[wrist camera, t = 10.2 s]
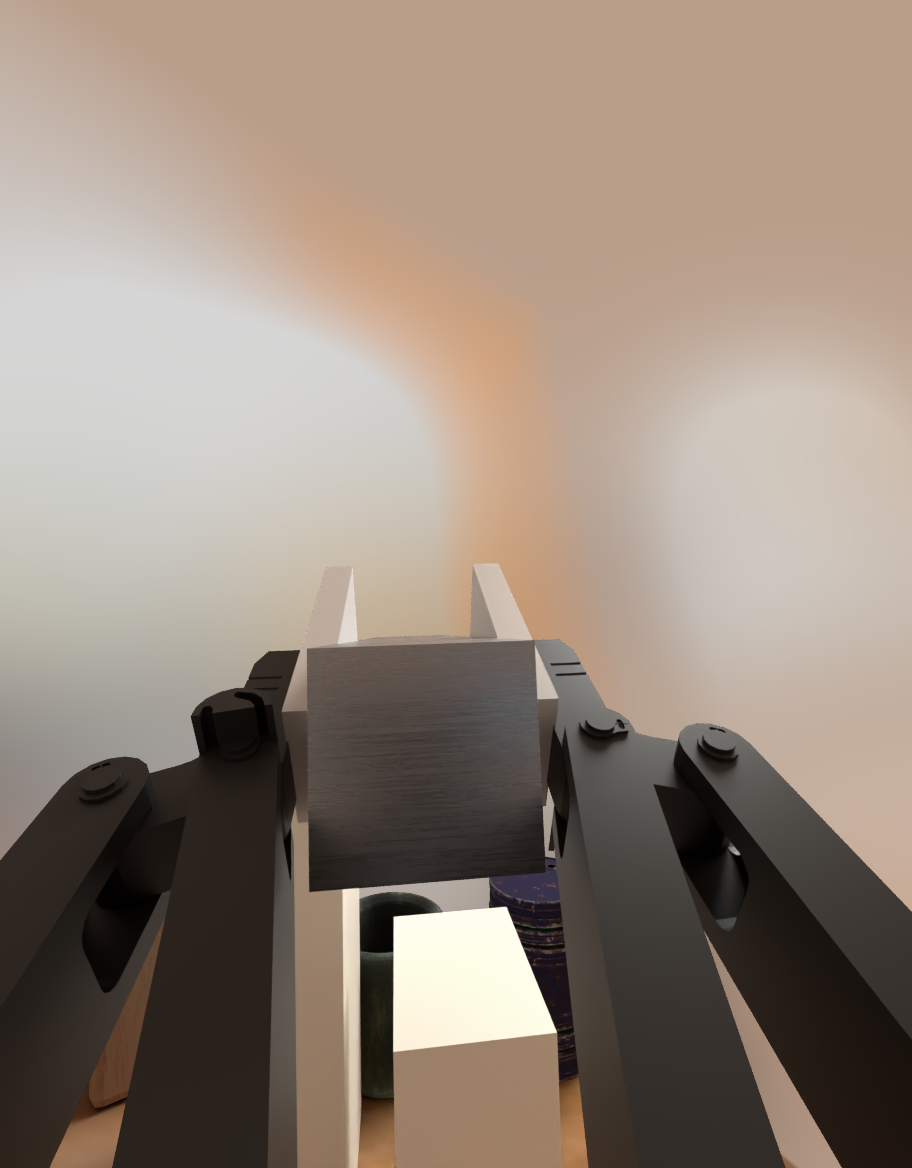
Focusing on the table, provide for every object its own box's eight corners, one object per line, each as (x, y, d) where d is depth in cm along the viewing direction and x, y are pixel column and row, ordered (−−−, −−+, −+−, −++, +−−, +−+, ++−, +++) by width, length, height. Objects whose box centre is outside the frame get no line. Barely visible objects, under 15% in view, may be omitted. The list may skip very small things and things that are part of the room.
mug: (333, 1125, 43) (332, 967, 44) (325, 1003, 57) (325, 886, 58) (462, 1089, 46) (459, 942, 47) (425, 982, 60) (422, 871, 61)
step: (400, 1522, 24) (393, 1051, 25) (398, 1223, 35) (393, 916, 37) (575, 1483, 24) (556, 1032, 26) (516, 1204, 36) (506, 906, 38)
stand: (159, 1361, 29) (170, 795, 32) (235, 1124, 43) (238, 745, 45) (346, 1328, 30) (341, 785, 33) (361, 1108, 44) (357, 739, 47)
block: (219, 1063, 49) (222, 839, 51) (88, 1119, 44) (95, 866, 45) (205, 1001, 57) (207, 810, 59) (93, 1041, 52) (99, 830, 54)
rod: (308, 891, 8) (306, 648, 8) (378, 700, 29) (377, 637, 30) (545, 873, 8) (534, 640, 8) (441, 697, 30) (439, 635, 30)
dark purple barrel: (569, 1103, 44) (562, 914, 45) (472, 1050, 50) (468, 884, 51) (613, 1029, 52) (605, 870, 53) (524, 990, 58) (519, 848, 59)
